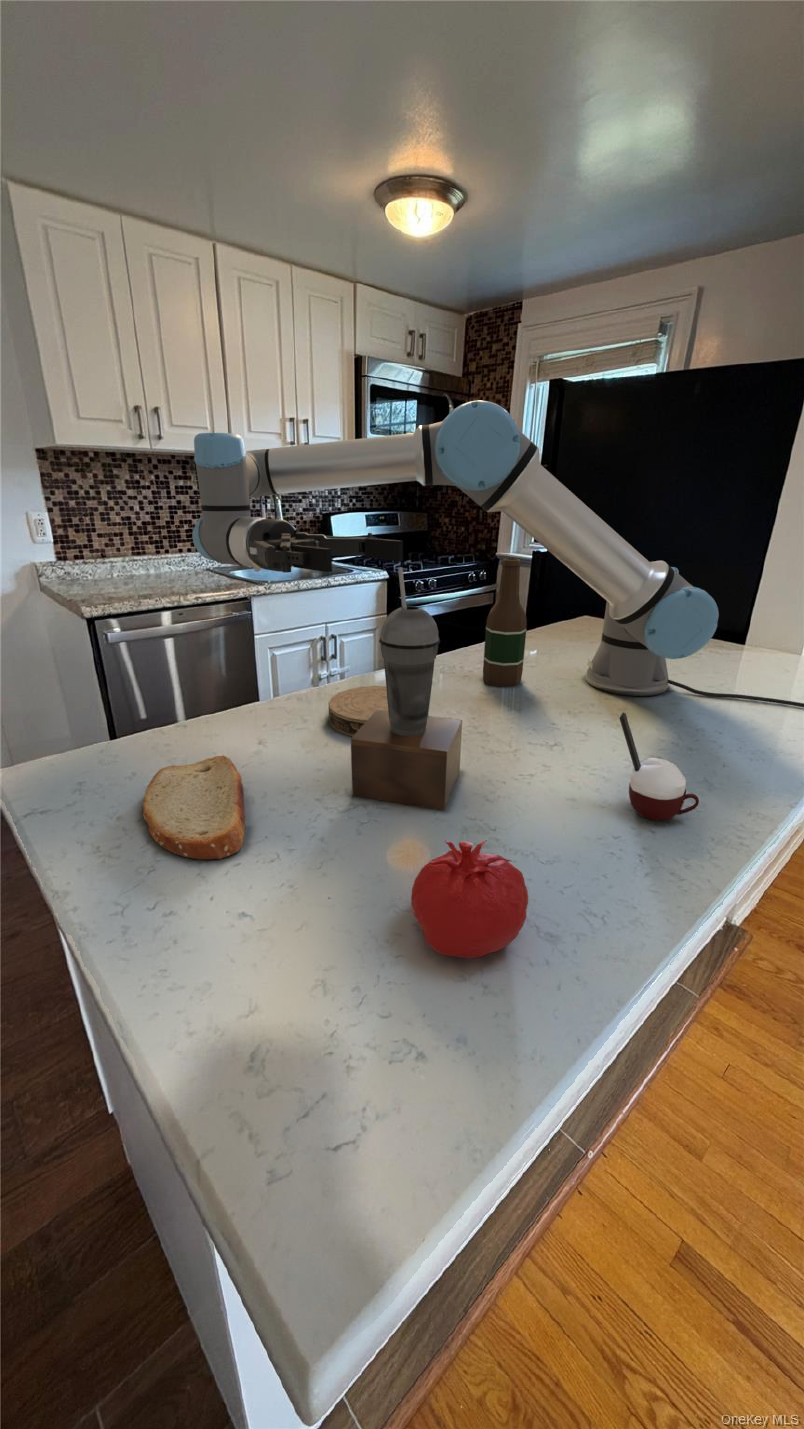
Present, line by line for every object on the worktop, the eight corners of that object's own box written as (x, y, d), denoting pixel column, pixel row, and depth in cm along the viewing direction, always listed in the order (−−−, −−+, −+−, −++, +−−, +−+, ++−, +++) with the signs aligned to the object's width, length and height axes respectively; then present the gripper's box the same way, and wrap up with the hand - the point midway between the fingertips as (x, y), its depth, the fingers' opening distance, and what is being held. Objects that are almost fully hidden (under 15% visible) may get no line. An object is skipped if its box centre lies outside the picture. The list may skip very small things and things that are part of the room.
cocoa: (699, 820, 68) (722, 728, 63) (672, 838, 64) (694, 742, 59) (628, 788, 74) (643, 703, 70) (599, 803, 71) (614, 714, 66)
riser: (459, 773, 78) (462, 719, 75) (444, 810, 69) (447, 751, 66) (376, 761, 81) (376, 709, 78) (352, 795, 72) (350, 738, 69)
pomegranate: (537, 971, 46) (550, 879, 43) (416, 978, 46) (418, 885, 42) (507, 890, 56) (515, 809, 52) (405, 895, 55) (407, 813, 51)
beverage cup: (432, 743, 68) (437, 573, 60) (373, 737, 69) (371, 571, 62) (440, 720, 75) (446, 564, 67) (386, 715, 76) (386, 562, 68)
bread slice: (221, 868, 58) (217, 838, 57) (88, 832, 64) (81, 803, 62) (307, 787, 74) (305, 761, 72) (193, 764, 80) (190, 740, 78)
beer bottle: (481, 686, 111) (490, 560, 102) (483, 673, 118) (491, 555, 109) (521, 688, 110) (534, 562, 101) (520, 676, 117) (532, 556, 108)
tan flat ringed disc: (390, 746, 85) (390, 728, 84) (309, 724, 93) (308, 707, 92) (440, 713, 98) (441, 697, 97) (365, 695, 106) (364, 680, 104)
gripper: (327, 561, 97) (425, 573, 84) (196, 578, 79) (295, 597, 66) (325, 515, 94) (426, 520, 81) (188, 522, 76) (290, 531, 64)
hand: (367, 555), depth 74 cm, fingers open, 13 cm apart
